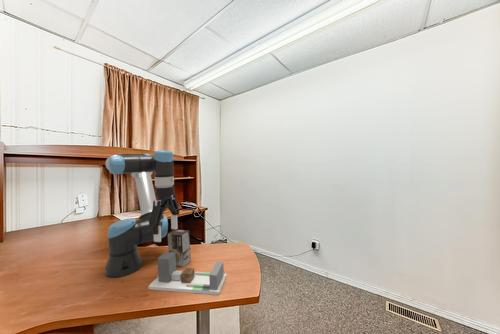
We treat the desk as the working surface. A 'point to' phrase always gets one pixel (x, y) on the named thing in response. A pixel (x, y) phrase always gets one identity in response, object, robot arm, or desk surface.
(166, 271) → the grey block
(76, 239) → the desk surface
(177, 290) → the board
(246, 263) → the desk surface
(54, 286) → the desk surface
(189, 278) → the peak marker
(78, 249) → the desk surface
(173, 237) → the coffee box
